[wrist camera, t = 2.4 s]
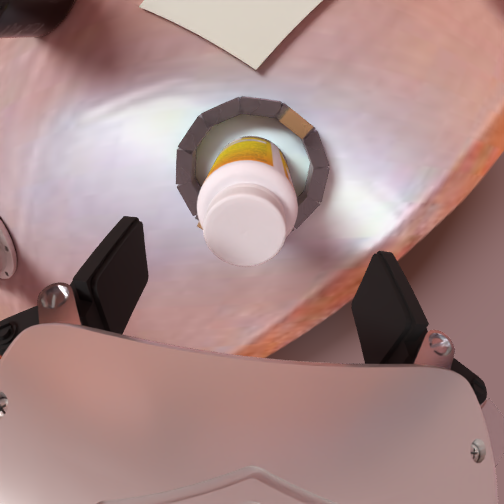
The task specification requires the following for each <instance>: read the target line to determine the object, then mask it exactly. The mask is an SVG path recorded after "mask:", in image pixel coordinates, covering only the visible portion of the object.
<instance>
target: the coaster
mask: <svg viewBox="0 0 504 504" xmlns="http://www.w3.org/2000/svg"><path fill="white" fill-rule="evenodd" d="M322 1H323V0H144V1H143V2H142V3H141V5H140V6H139V7H140V8H142V9H145V10H147V11H149V12H152V13H154V14H156V15H159V16H161V17H163V18H165V19H167V20H169V21H172V22H174V23H176V24H178V25H180V26H182V27H184V28H186V29H188V30H190V31H192V32H193V33H195V34H197V35H199V36H201V37H203V38H204V39H206V40H208V41H210V42H212V43H213V44H215V45H217V46H218V47H220V48H222V49H223V50H225V51H227V52H228V53H230V54H232V55H233V56H235V57H236V58H238V59H240V60H241V61H243V62H244V63H246V64H247V65H249V66H250V67H252V68H253V69H255V70H257V69H258V68H259V66H260V65H261V64H262V63H263V62H264V61H265V60H266V58H267V57H268V56H269V55H270V54H271V53H272V52H273V51H274V49H275V48H276V47H277V46H278V45H279V44H280V43H281V42H282V41H283V40H284V39H285V38H286V37H287V35H288V34H289V33H290V32H291V31H292V30H293V29H294V28H295V27H296V26H297V25H298V24H299V23H300V22H301V21H302V20H303V19H304V18H305V17H306V16H307V15H308V14H309V13H310V12H311V11H312V10H313V9H314V8H316V7H317V6H318V5H319V4H320V3H321V2H322Z"/></svg>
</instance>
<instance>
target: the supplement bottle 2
mask: <svg viewBox="0 0 504 504" xmlns="http://www.w3.org/2000/svg"><path fill="white" fill-rule="evenodd" d="M297 213H298V203H297V197H296V193H295V189H294V186H293V182H292V179H291V176H290V172H289V169H288V166H287V163H286V160H285V157H284V155H283V153H282V152H281V151H280V149H279V148H278V147H277V146H276V145H275V144H273V143H272V142H271V141H269V140H267V139H264V138H261V137H257V136H245V137H241V138H238V139H235V140H233V141H232V142H230V143H229V144H228V145H226V146H225V147H224V148H223V150H222V151H221V152H220V154H219V156H218V157H217V159H216V161H215V163H214V165H213V166H212V168H211V170H210V172H209V174H208V176H207V178H206V179H205V181H204V183H203V185H202V187H201V190H200V192H199V195H198V200H197V214H198V218H199V222H200V224H201V226H202V228H203V234H204V238H205V241H206V243H207V245H208V247H209V249H210V250H211V251H212V252H213V253H214V254H215V255H216V256H217V257H218V258H219V259H221V260H223V261H224V262H227V263H229V264H232V265H236V266H242V267H249V266H256V265H260V264H262V263H265V262H267V261H269V260H270V259H272V258H273V257H274V256H275V255H276V254H277V253H278V252H279V251H280V250H281V248H282V246H283V244H284V242H285V238H286V237H287V236H288V235H289V234H290V232H291V231H292V229H293V227H294V225H295V222H296V219H297Z"/></svg>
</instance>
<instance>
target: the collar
mask: <svg viewBox="0 0 504 504" xmlns="http://www.w3.org/2000/svg"><path fill="white" fill-rule="evenodd" d="M239 114H250V115H258V116H266V117H273V118H277V119H278V120H279V122H281V123H282V124H283V125H285V126H286V127H287V128H289V129H290V130H291V131H292V132H294V133H295V134H296V135H297V136H299V137H300V138H301V139H302V142H303V144H304V147H305V150H306V152H307V155H308V158H309V161H310V166H309V171H308V176H307V181H306V185H305V190H304V191H303V192H302V193H301V195H300V196H299V197H298V198H297V203H298V213H297V219H296V222H295V225H294V227H295V228H296V229H297V228H298V227H299V226H300V225H301V224H302V223H303V221H304V220H305V219H306V218H307V217H308V216H309V215H310V214H311V213H312V212H313V211H314V210H315V209H316V208H317V207H318V206H319V205H320V204H319V202H321V201H322V197H323V193H324V189H325V185H326V180H327V176H328V172H329V168H328V166H329V164H328V161H327V158H326V155H325V152H324V149H323V146H322V143H321V140H320V137H319V134H318V132H317V130H315V128H314V127H313V126H312V125H311V124H310V123H308V122H307V121H306V120H305V119H303V118H302V117H301V116H300V115H298V114H297V113H296V112H295V111H293V110H292V109H291V108H290V107H288V106H287V105H286V104H284V103H282V104H281V102H280V101H275V100H268V99H261V98H253V97H243V96H242V97H241V100H240V98H239V97H237V98H235V99H233V100H230V101H228V102H226V103H223V104H221V105H219V106H217V107H214V108H212V109H210V110H208V111H206V112H204V113H202V114H201V115H199V116H198V117H197V119H196V120H195V122H194V123H193V124H192V126H191V127H190V129H189V130H188V132H187V133H186V135H185V136H184V138H183V139H182V141H181V142H180V144H179V145H178V147H179V148H178V149H177V159H176V184H179V185H178V186H177V188H178V190H179V192H180V194H181V195H182V197H183V199H184V201H185V203H186V204H187V206H188V208H189V210H190V211H191V213H192V215H193V216H194V215H196V217H195V218H196V219H197V220H199V218H198V214H197V200H198V195H199V192H200V190H201V187H200V185H199V183H198V181H197V179H196V178H195V167H196V150H197V147H198V146H199V144H200V143H201V141H202V140H203V139H204V137H205V136H206V134H207V133H208V132H209V130H210V129H211V127H212V126H214V125H216V124H218V123H221V122H223V121H225V120H227V119H230V118H232V117H235V116H237V115H239ZM197 226H198V227H199V228H201V229H202V230H203V228H202V226H201V224H200V222H198V225H197ZM294 227H293V229H292V231H293V230H294Z"/></svg>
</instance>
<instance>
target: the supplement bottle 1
mask: <svg viewBox="0 0 504 504" xmlns="http://www.w3.org/2000/svg"><path fill="white" fill-rule="evenodd" d="M73 3H74V0H0V38H16V37H40V36H43V35H46V34H48V33H49V32H51V31H52V30H54V29H55V28H56V27H57V26H58V25H59V24H60V23H61V22H62V21H63V20H64V18H65V17H66V16H67V14H68V13H69V11H70V9H71V7H72V5H73Z"/></svg>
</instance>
